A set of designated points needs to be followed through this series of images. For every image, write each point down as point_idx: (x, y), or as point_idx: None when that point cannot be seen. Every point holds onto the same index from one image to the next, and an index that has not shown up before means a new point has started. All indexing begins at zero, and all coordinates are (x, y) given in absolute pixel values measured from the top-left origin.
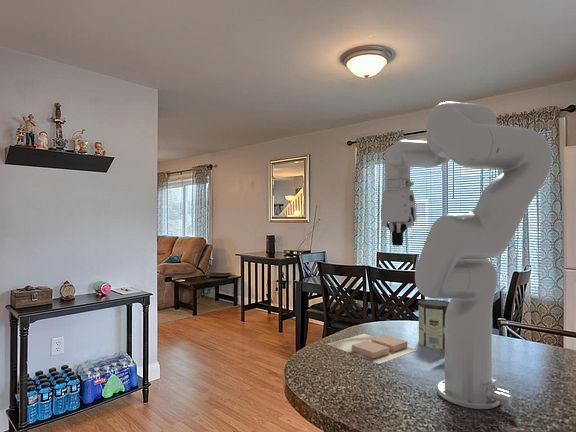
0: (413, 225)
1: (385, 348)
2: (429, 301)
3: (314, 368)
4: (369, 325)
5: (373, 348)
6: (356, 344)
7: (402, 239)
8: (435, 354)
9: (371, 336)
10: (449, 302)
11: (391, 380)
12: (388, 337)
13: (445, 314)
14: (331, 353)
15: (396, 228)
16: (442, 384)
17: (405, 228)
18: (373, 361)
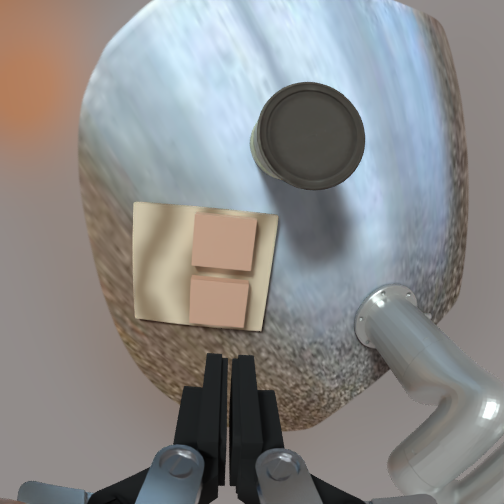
0: (426, 498)
1: (246, 294)
2: (289, 124)
3: (194, 384)
4: (93, 112)
5: (230, 311)
6: (193, 315)
7: (275, 412)
8: None
9: (157, 208)
10: (344, 102)
11: (295, 346)
12: (210, 225)
13: (410, 394)
14: (163, 328)
15: (191, 495)
16: (361, 326)
17: (330, 497)
18: (248, 329)
